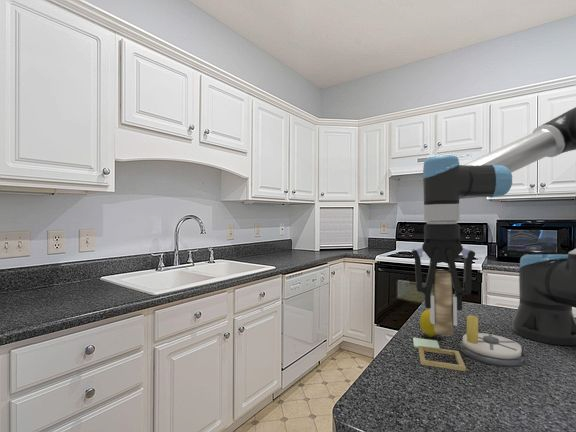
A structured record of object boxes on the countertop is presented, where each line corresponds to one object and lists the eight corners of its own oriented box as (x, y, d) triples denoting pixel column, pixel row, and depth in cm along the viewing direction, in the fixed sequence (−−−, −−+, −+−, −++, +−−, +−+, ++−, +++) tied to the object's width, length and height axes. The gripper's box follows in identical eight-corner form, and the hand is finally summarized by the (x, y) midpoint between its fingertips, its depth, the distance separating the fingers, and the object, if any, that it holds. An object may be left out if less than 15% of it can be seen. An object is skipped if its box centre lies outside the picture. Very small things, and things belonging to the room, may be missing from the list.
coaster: (437, 342, 84) (437, 340, 84) (440, 351, 78) (440, 349, 78) (413, 339, 86) (413, 337, 86) (414, 347, 80) (414, 346, 80)
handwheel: (499, 338, 83) (499, 310, 83) (534, 359, 71) (534, 326, 71) (453, 338, 83) (453, 309, 83) (480, 358, 71) (480, 325, 71)
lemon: (423, 332, 91) (423, 304, 92) (443, 336, 88) (444, 308, 88) (416, 337, 87) (417, 308, 87) (438, 342, 84) (438, 312, 84)
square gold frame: (458, 354, 77) (458, 351, 77) (466, 371, 68) (466, 367, 68) (418, 348, 80) (418, 345, 80) (420, 364, 71) (420, 361, 71)
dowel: (451, 329, 75) (450, 270, 75) (454, 335, 71) (453, 273, 72) (433, 328, 77) (432, 270, 77) (435, 334, 73) (434, 273, 73)
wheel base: (513, 347, 81) (513, 342, 81) (533, 370, 69) (533, 365, 69) (456, 340, 85) (456, 336, 85) (466, 361, 73) (466, 356, 73)
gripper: (479, 222, 75) (481, 321, 75) (402, 222, 80) (404, 314, 80) (487, 222, 68) (489, 332, 68) (403, 223, 73) (404, 324, 73)
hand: (443, 322), depth 74 cm, fingers closed on dowel, 4 cm apart
